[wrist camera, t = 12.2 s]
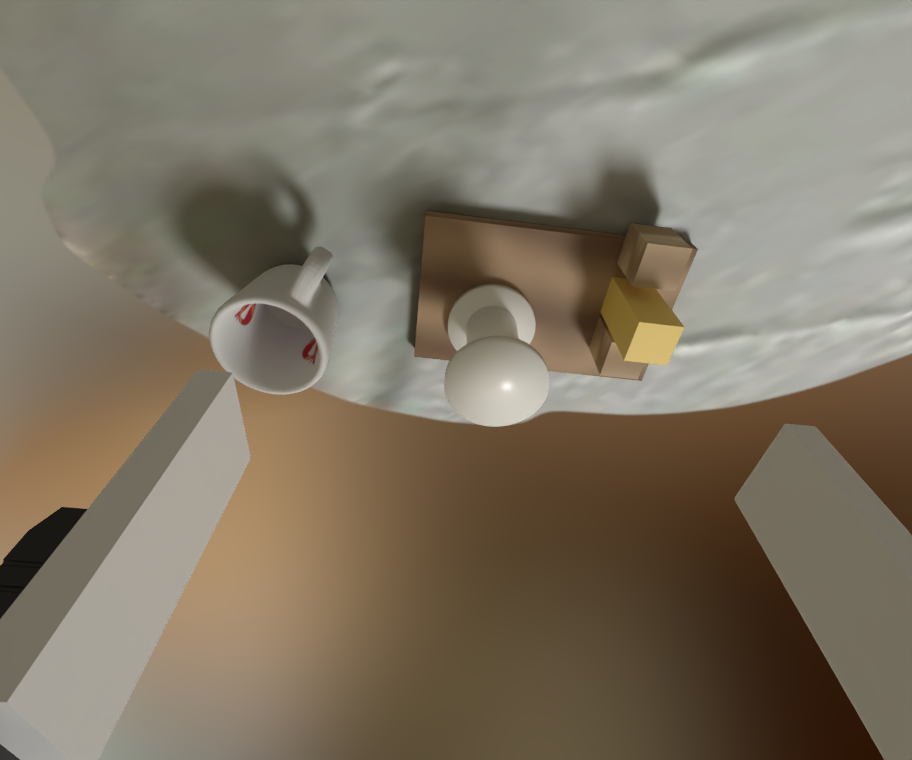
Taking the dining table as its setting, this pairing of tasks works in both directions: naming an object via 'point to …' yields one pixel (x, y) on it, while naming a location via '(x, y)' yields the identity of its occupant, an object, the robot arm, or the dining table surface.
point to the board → (546, 283)
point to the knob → (494, 357)
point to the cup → (279, 327)
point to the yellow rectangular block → (640, 322)
